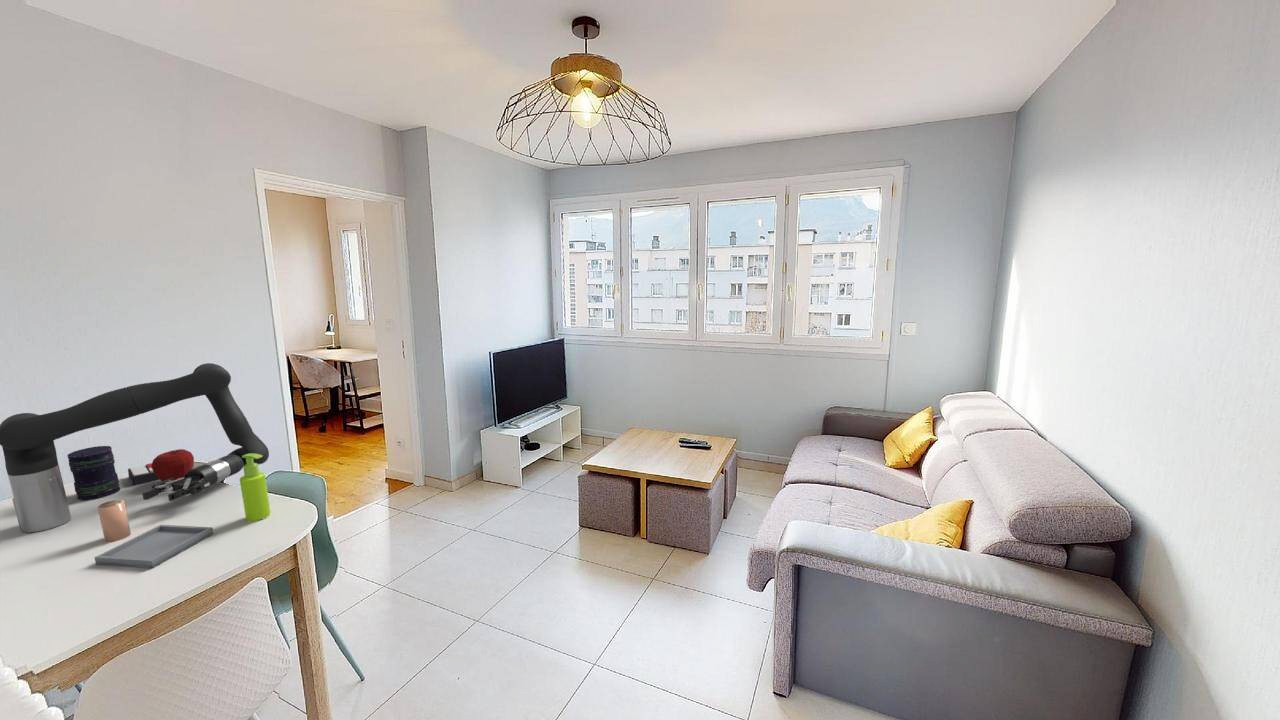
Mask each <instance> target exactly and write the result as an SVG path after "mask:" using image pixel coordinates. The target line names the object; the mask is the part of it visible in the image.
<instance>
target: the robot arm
mask: <svg viewBox="0 0 1280 720" xmlns="http://www.w3.org/2000/svg"><path fill="white" fill-rule="evenodd" d="M231 380H232V376H231V374H230V372H229V371H228V370H226V369H225V368H224V367H223V366H221V365H219V364H217V363H211V362H209V363H203V364H202V363H201V364H200V365H198V366H197V367H195V369H194V370H193V372H192V373H190V374H186V375H182V376H179V377H177V378H173V379H170V380H169V379H168V380H161V381H153V382H152V381H151V382H145V383H140V384H139V383H138V384H134V385H133V384H132V385H129V386H125V387H123V388H118V389H113V390H110V391H107V392H104V393H101V394H99V395H98V394H97V395H96V396H94V397H91V398H90V399H86V400H84V401H82V402H80V403H76V404H75V405H73V406H69V407H66V408H63V409H61V410H56V411H52V412H48V413H43V414H37V413H33V412H25V413H24V412H21V413H17V414H12V415H11V416H9V417H7V418H5V419H4V420H3V421H2V422H1V423H0V447H2V451H3V456H4V464H5V470H6V473H7V476H8V480H9V484H10V487H11V492H12V496H13V497H12V504H13V507H14V512H15V515H16V519H17V522H18V526H19V527H18V528H19V529H20V530H21V531H22V532H24V533H34V532H35V533H37V532H41V531H46V530H50V529H54V528H56V527H59V526H62V525H64V524H66V523H68V522H69V521H70V520H71V519H72V516H71V512H70V507H69V502H68V498H67V494H66V490H65V485H64V482H63V478H62V477H63V476H62V473H61V469H60V465H59V462H58V455H57V454H58V453H57V449H56V446H55V441H56V440H58V439H61V438H64V437H67V436H69V435H71V434H74V433H78V432H81V431H84V430H89V429H92V428H97V427H101V426H105V425H108V424H112V423H115V422H119V421H123V420H126V419H129V418H132V417H136V416H139V415H143V414H145V413H148V412H152V411H154V410H157V409H161V408H163V407H168V406H169V405H172V404H175V403H178V402H180V401H185V400H188V399H192V398H197V397H200V396H205V397H206V398H207V399H208V401H209V403H210V405H211V407H212V408H213V410H214V412H215V414H216V417H217V418H218V420H219V423H220V425H221V427H222V429H223V431H224V433H225V434H226V436H227V439H228V440H229V442H230V443H231V444H232V445H235V446H239V447H238V448H236V449H234V450H232V451H231V452H229V453H228V454H227V455H225V456H222V457H219V458H218V459H214V460H211V461H208V462H206V463H203V464H201V465H198V466H197V467H193V469H191V470H189V471H188V472H187V473H186V475H185V476H184V478H179V479H177V480H174V478H170V479H167V480H165V481H161V482H158V483H155V484H153V485H151V489H149V490H147V491H145V492H143V493H142V499H143V500H146V501H147V500H150V499H153V498H155V497H157V496H159V495H163V494H168V501H170V502H173V501H176V500H178V499H181V498H182V497H187V496H189V495H191V496H195V495H197V494H199V493H202V492H203V491H205V490H207V489H210V488H211V487H212V486H215V485H216V484H218V483H220V482H222V481H224V480H226V479H228V478H230V477H231V476H233V475H236V474H237V473H239V472H240V471H242V470H243V469H244V468H243V466H245V465H246V458H242V456H243V455H246V454H248V453H254V454H260V455H262V456H263V457H261V458H259V459H253V461H254V463H257V464H258V466H259V465H263V464H264V463H266V462H267V461H268V460H269V456H270V451H269V449H268V446H267V445H266V444H265V443H264V441H262V440H261V439H260V438H259V436H258V435H256V433H254V431H253V429H252V426H251V425H250V423H249V421H248V419H247V417H246V416H245V413H244V412H243V411H242V410H241V408H240V406H239V405H238V404H237V402H236V401H235V399H234V397H233V395H232V393H231V390H230V388H229V386H230V383H231V382H232V381H231ZM171 488H172V489H171Z"/></svg>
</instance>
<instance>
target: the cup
mask: <svg viewBox="0 0 1280 720" xmlns="http://www.w3.org/2000/svg"><path fill="white" fill-rule="evenodd" d="M96 509H97V512H98V516H99V521H100V525H101V530H102V534H103V539H104V542H106V543H112V542H118V541H120V540H121V541H122V540H124V539H126V538H128V537H130V536H131V535H132V534H131V528H130V523H129V519H128V518H129V517H128V514H127V510H126V505H125V500H124V499H114V500H110V501H107V502H106V501H105V502H104V503H101V504H99V505H98V506H97V507H96Z"/></svg>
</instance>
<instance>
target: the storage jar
mask: <svg viewBox="0 0 1280 720" xmlns="http://www.w3.org/2000/svg"><path fill="white" fill-rule="evenodd" d="M112 449H113V448H112V446H111V445H97V446H91V447H87V448H82V449H78V450H75V451H72V452H69V453H68V454H67V455H66V456H67V459H68V466H69V470H70V473H72V476H73V480H74V482H73V486H74V491H75V493H76V496H77V497H76V498H77V500H78V501H92V500H93V501H94V500H98V499H102V498H106V497H109V496H112V495H114V494H116V493H118V492H119V491H121V487H120V480H119V476H118V473H117V472H116V469H115V468H116V467H115V461H116V460H115V457H114V454H113V451H112Z"/></svg>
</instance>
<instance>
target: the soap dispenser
mask: <svg viewBox="0 0 1280 720" xmlns="http://www.w3.org/2000/svg"><path fill="white" fill-rule="evenodd" d="M261 457H263V456H262V455H260V454H254V453H248V454H246V455H243V456H242V458H246V465H245V466H243V468H242V469H243V475H242V476H241V477H240V478H239V485H240V491H241V496H242V502H243V508H244V514H245V520H246V522H249V521H255V522H258V521H257V520H260V519H263V518H265V519H267V518H268V517H267V516H269V515H270V513H271V507H270V501H269V495H268V487H267V480H266V474H265V473H264V472H261V471H260V470H259V465H258V464H257V463H254V461H253V459H259V458H261ZM270 516H271V515H270ZM270 516H269V517H270ZM266 517H267V518H266ZM263 520H264V519H263ZM260 521H261V520H260Z"/></svg>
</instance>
